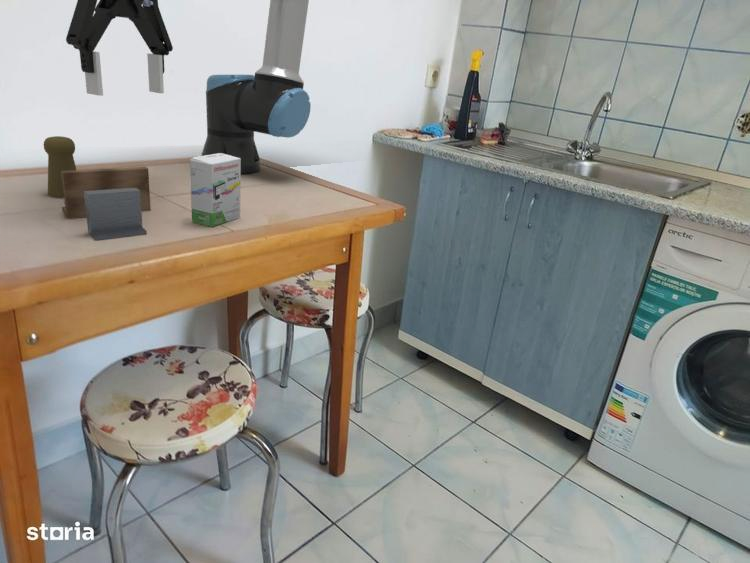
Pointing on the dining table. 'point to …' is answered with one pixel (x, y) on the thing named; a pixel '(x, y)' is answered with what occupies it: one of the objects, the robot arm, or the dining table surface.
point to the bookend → (114, 213)
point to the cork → (58, 162)
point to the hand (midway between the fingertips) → (127, 93)
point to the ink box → (215, 188)
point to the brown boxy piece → (102, 186)
